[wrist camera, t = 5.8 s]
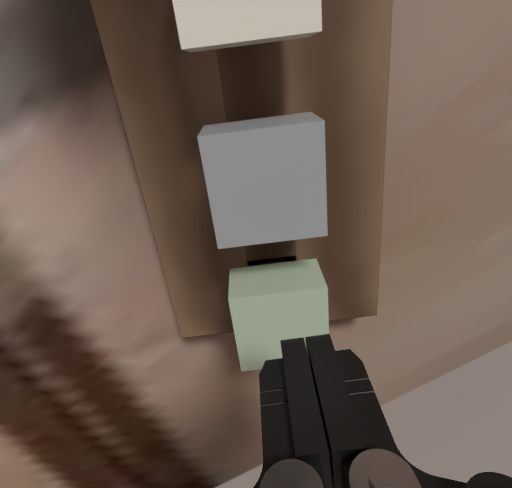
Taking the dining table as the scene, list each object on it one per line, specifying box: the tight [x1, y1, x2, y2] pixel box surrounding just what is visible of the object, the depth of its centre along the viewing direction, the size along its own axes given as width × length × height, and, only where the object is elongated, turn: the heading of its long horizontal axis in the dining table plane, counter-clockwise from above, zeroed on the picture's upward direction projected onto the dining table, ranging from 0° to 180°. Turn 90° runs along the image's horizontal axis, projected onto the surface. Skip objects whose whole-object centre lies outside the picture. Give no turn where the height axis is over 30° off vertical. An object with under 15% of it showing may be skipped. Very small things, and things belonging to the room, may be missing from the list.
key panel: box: [90, 0, 393, 338], centre depth 21 cm, size 14×24×3 cm, turn 7°
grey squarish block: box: [197, 112, 328, 249], centre depth 17 cm, size 5×5×6 cm
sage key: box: [228, 258, 329, 372], centre depth 21 cm, size 5×5×6 cm
